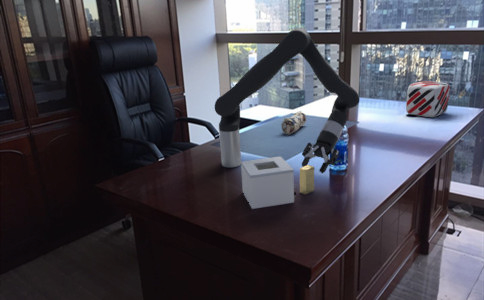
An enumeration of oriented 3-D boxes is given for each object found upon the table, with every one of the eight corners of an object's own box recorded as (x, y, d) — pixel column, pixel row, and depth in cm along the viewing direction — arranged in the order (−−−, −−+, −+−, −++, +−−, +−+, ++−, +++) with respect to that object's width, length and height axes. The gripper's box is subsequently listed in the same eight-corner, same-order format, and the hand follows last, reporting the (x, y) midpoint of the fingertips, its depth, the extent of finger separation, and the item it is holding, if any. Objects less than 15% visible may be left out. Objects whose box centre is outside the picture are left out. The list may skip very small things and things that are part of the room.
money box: (242, 192, 158) (240, 161, 154) (281, 186, 162) (280, 156, 157) (252, 208, 144) (250, 175, 140) (294, 202, 148) (293, 169, 143)
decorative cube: (418, 109, 269) (421, 79, 263) (449, 113, 255) (452, 82, 248) (403, 114, 258) (405, 83, 251) (433, 119, 243) (437, 86, 236)
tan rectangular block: (299, 192, 156) (299, 168, 152) (307, 188, 159) (307, 164, 156) (305, 194, 153) (305, 170, 150) (314, 190, 157) (314, 166, 153)
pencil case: (294, 135, 228) (294, 119, 225) (280, 134, 232) (280, 118, 228) (307, 125, 246) (307, 110, 243) (294, 124, 250) (293, 109, 247)
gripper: (311, 126, 162) (293, 161, 158) (341, 132, 152) (323, 169, 148) (319, 136, 167) (302, 169, 163) (349, 142, 157) (331, 178, 153)
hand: (312, 169), depth 156 cm, fingers open, 8 cm apart
